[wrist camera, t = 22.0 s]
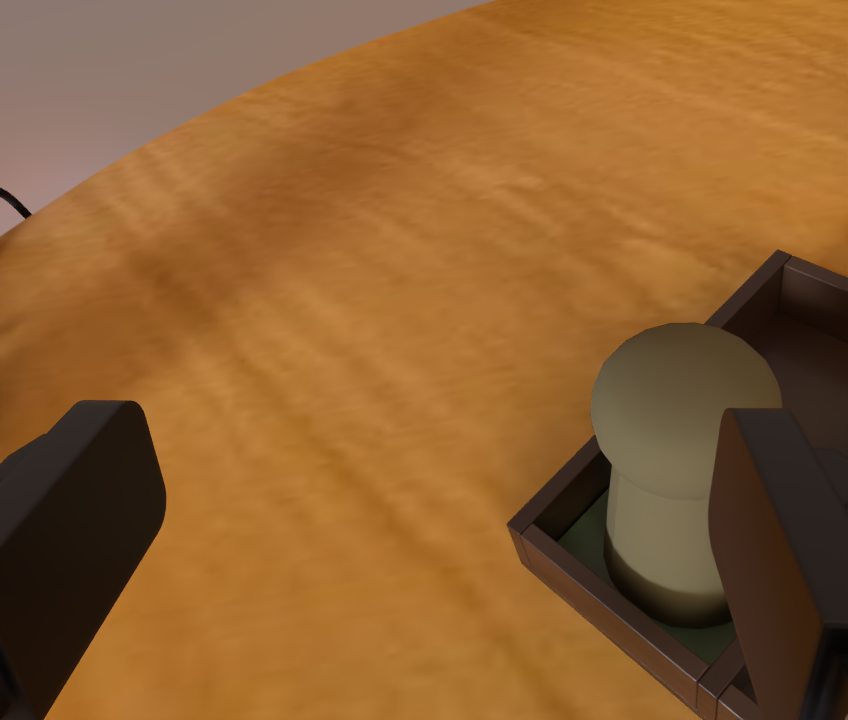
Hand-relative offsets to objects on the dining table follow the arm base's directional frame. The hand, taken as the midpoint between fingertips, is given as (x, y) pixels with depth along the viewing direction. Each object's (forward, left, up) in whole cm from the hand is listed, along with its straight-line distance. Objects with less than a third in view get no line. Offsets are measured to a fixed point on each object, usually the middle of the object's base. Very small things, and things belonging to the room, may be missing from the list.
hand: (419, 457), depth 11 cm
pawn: (-3, +8, -20) cm, 22 cm away
